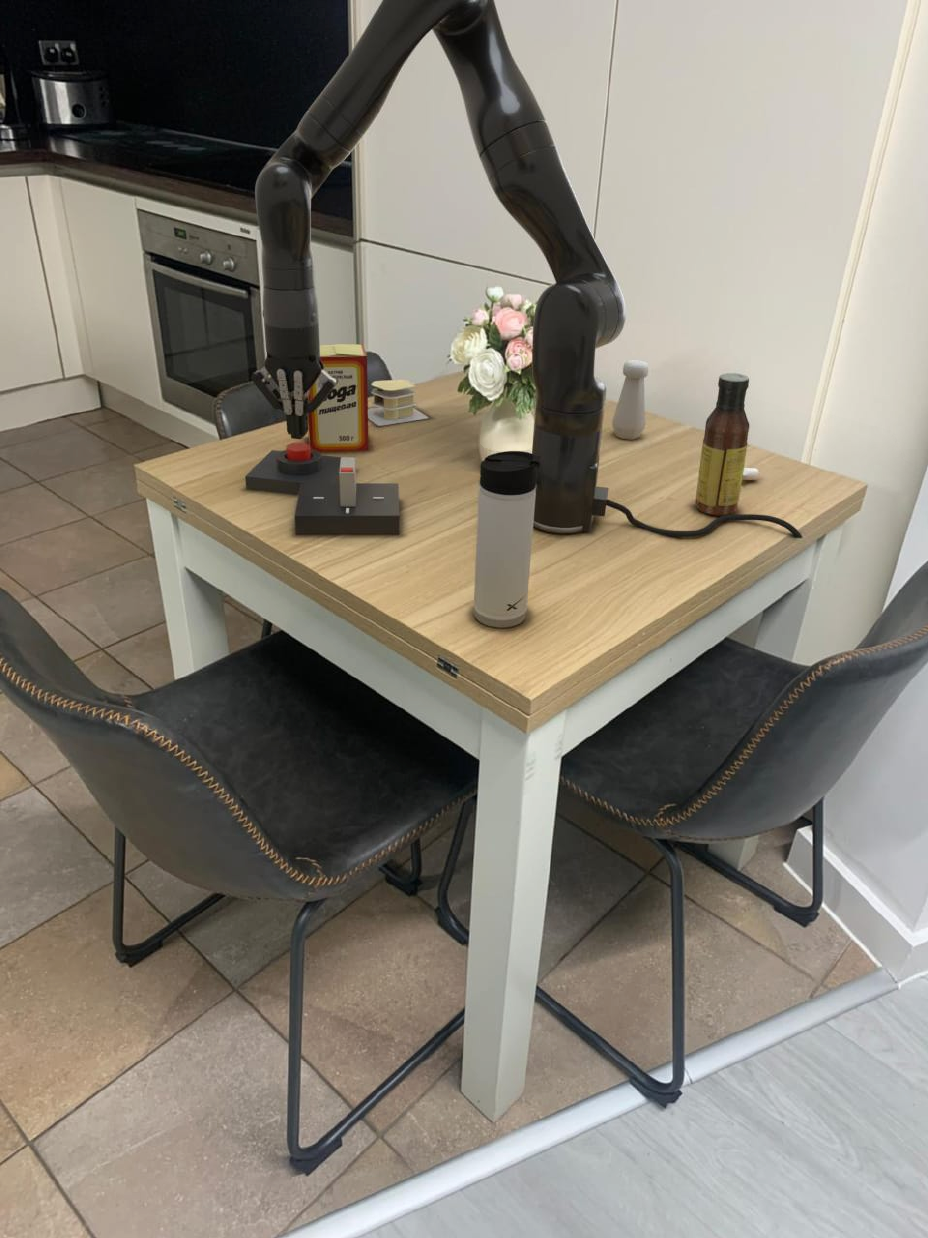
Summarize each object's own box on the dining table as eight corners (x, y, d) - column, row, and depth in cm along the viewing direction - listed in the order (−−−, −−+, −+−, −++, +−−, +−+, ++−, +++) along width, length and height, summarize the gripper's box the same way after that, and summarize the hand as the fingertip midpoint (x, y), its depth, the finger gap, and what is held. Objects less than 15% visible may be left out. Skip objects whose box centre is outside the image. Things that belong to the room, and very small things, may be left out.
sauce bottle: (737, 503, 143) (763, 372, 132) (735, 520, 137) (762, 385, 127) (693, 497, 144) (715, 367, 134) (690, 514, 139) (712, 380, 128)
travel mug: (524, 632, 109) (537, 469, 99) (468, 624, 110) (475, 462, 100) (532, 605, 114) (545, 448, 104) (478, 598, 115) (486, 442, 105)
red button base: (352, 471, 148) (351, 447, 146) (330, 499, 139) (329, 473, 137) (272, 462, 150) (271, 438, 148) (246, 489, 141) (243, 464, 139)
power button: (314, 454, 144) (313, 443, 143) (306, 463, 141) (306, 452, 140) (291, 452, 144) (291, 441, 143) (283, 460, 141) (282, 449, 140)
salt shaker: (605, 430, 168) (613, 357, 161) (634, 428, 169) (644, 355, 163) (619, 442, 163) (628, 367, 156) (649, 439, 165) (660, 365, 158)
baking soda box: (310, 452, 154) (305, 354, 146) (308, 438, 160) (303, 342, 151) (368, 450, 156) (366, 353, 148) (365, 436, 161) (363, 342, 153)
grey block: (342, 490, 134) (340, 455, 132) (356, 490, 134) (355, 455, 132) (340, 506, 130) (339, 470, 127) (355, 506, 130) (354, 470, 127)
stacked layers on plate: (406, 403, 177) (406, 374, 174) (429, 418, 170) (429, 388, 168) (357, 410, 173) (356, 380, 170) (378, 426, 166) (378, 395, 163)
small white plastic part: (765, 486, 149) (769, 468, 147) (727, 485, 148) (730, 466, 147) (759, 477, 152) (763, 459, 150) (722, 476, 152) (725, 458, 150)
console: (398, 502, 139) (398, 482, 137) (399, 535, 130) (399, 514, 128) (301, 502, 138) (300, 481, 136) (295, 535, 128) (294, 514, 127)
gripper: (345, 316, 134) (348, 433, 143) (256, 308, 136) (265, 424, 145) (328, 329, 128) (333, 450, 137) (235, 321, 130) (246, 441, 139)
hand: (297, 437), depth 141 cm, fingers closed
